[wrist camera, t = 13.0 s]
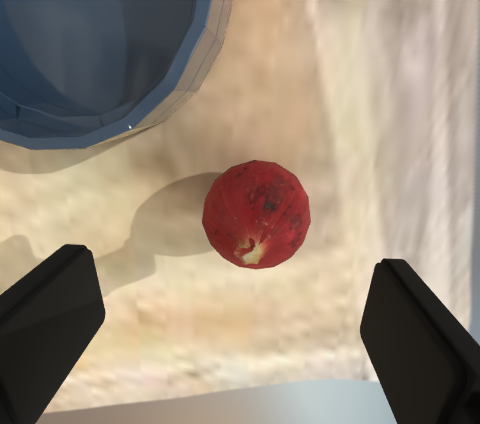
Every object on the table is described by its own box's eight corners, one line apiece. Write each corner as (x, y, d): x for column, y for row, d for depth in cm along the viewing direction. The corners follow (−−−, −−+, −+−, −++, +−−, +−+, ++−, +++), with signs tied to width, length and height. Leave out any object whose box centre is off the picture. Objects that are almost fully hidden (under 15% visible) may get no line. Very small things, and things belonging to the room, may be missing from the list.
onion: (243, 131, 17) (226, 159, 10) (319, 178, 18) (355, 237, 11) (200, 205, 20) (161, 272, 12) (270, 244, 20) (272, 330, 13)
